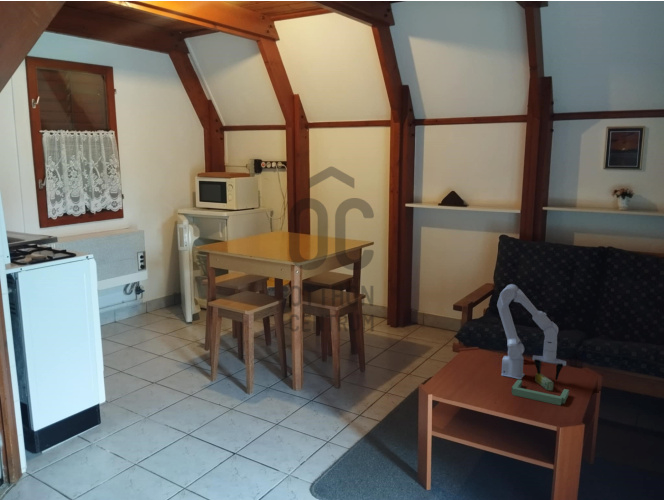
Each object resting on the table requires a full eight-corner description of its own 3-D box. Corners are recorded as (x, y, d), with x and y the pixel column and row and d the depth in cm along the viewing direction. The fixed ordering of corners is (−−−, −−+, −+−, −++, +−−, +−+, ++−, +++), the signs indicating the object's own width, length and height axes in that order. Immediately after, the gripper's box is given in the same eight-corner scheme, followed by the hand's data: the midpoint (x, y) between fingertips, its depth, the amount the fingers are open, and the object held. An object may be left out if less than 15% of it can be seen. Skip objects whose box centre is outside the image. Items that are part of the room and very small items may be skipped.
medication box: (553, 390, 248) (554, 382, 248) (547, 390, 248) (548, 382, 247) (539, 380, 260) (540, 372, 259) (534, 380, 260) (535, 372, 259)
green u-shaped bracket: (510, 394, 243) (510, 387, 243) (517, 384, 255) (517, 378, 254) (563, 406, 232) (563, 399, 232) (568, 395, 243) (568, 388, 243)
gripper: (567, 350, 257) (565, 378, 259) (535, 344, 264) (533, 371, 266) (565, 354, 251) (563, 382, 253) (532, 348, 258) (530, 376, 260)
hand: (547, 377), depth 259 cm, fingers open, 7 cm apart
